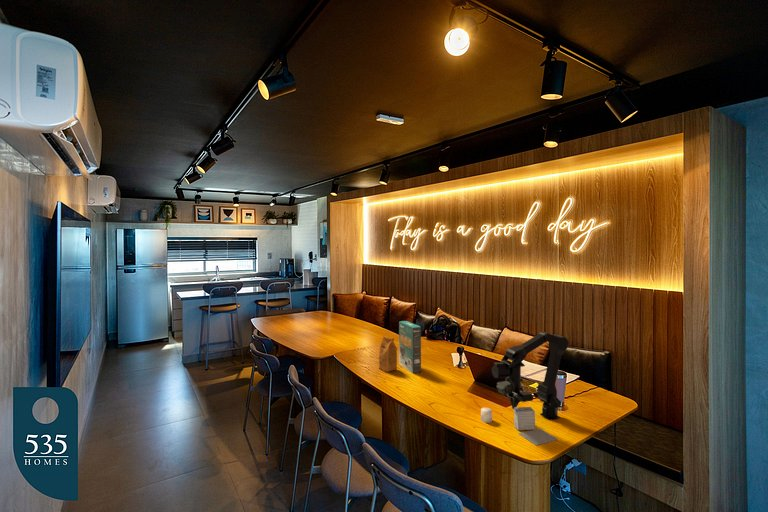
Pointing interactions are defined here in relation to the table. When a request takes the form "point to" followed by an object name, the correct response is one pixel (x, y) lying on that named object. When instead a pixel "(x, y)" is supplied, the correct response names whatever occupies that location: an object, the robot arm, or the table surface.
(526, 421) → the medicine box
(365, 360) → the table surface
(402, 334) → the cake mix box
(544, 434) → the mat
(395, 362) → the coffee package
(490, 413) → the egg
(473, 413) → the table surface
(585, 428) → the table surface
